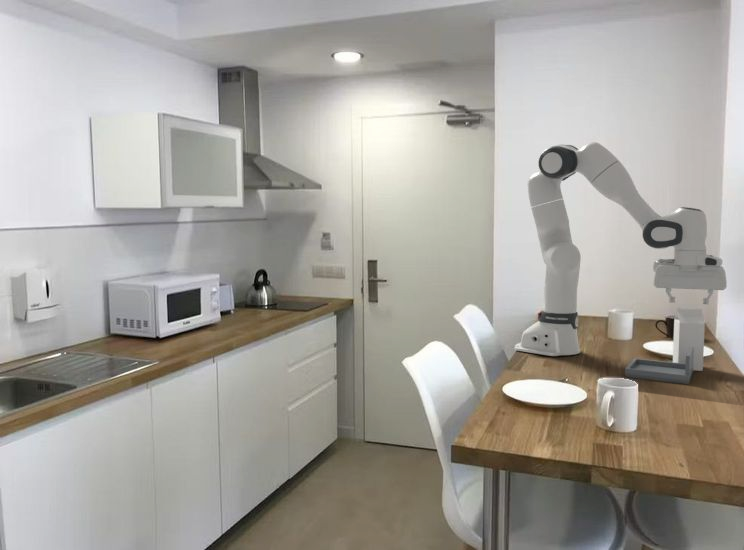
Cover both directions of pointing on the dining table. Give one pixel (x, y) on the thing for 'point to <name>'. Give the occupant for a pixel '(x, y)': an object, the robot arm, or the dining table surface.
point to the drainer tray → (662, 369)
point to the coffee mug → (668, 325)
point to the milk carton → (689, 336)
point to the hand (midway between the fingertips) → (688, 303)
